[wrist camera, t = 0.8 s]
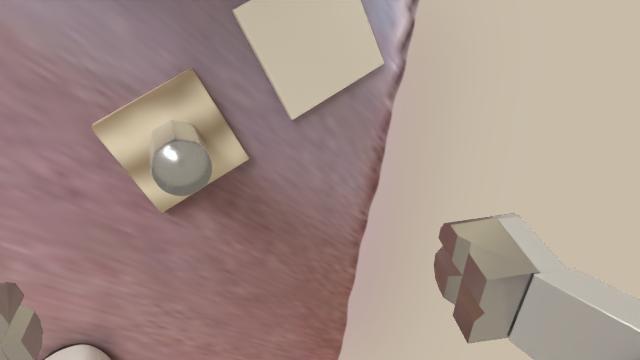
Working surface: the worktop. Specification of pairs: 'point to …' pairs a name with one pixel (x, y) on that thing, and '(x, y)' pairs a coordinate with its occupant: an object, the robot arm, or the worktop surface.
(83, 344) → the spread jar
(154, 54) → the worktop surface
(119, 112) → the post stand
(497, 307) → the robot arm
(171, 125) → the silver metal canister
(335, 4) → the board
